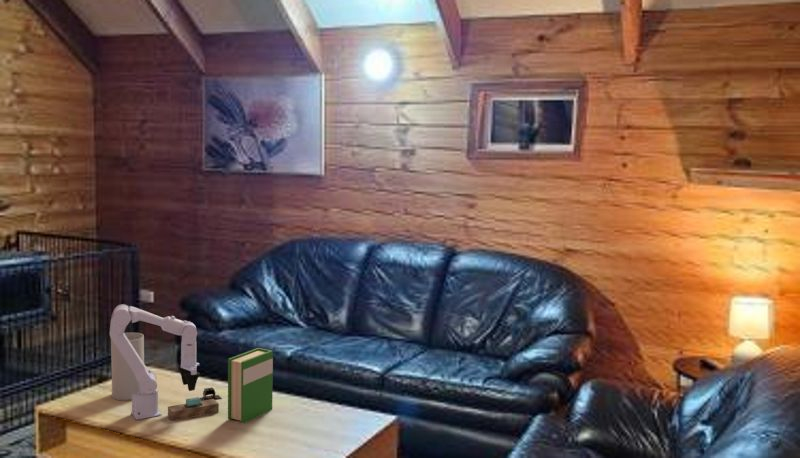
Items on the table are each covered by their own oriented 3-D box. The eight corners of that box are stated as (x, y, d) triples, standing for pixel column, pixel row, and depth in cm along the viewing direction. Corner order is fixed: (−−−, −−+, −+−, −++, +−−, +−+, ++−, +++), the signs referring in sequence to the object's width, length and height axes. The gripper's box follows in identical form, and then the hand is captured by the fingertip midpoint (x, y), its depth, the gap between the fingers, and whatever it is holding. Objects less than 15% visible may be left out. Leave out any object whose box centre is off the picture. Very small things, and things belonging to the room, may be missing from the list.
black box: (196, 405, 289) (196, 394, 288) (191, 399, 295) (191, 388, 294) (226, 400, 295) (226, 389, 294) (221, 394, 301) (221, 384, 301)
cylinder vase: (111, 392, 298) (110, 334, 295) (142, 388, 303) (142, 331, 300) (112, 402, 287) (111, 342, 284) (145, 398, 292) (145, 339, 289)
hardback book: (242, 423, 270) (243, 362, 267) (227, 419, 273) (228, 358, 270) (272, 409, 285) (272, 350, 282) (257, 405, 289) (258, 347, 286)
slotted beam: (172, 420, 271) (172, 411, 270) (167, 415, 276) (167, 406, 275) (218, 412, 280) (218, 403, 280) (213, 407, 285) (213, 398, 285)
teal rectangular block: (187, 416, 276) (187, 401, 275) (185, 414, 278) (185, 399, 277) (200, 413, 278) (200, 399, 278) (198, 411, 280) (198, 397, 280)
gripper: (204, 357, 275) (204, 391, 276) (193, 347, 287) (193, 380, 289) (186, 359, 271) (186, 394, 273) (175, 349, 283) (175, 382, 285)
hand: (188, 387), depth 280 cm, fingers open, 7 cm apart
